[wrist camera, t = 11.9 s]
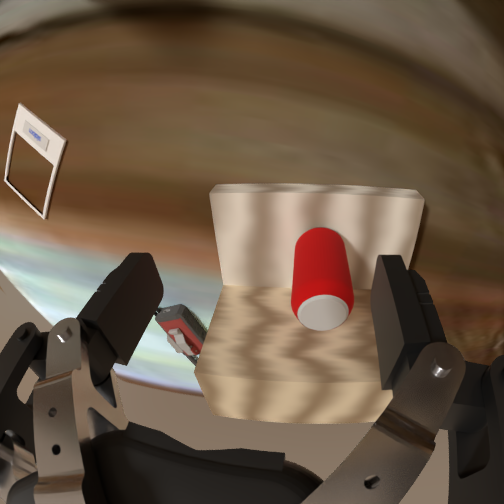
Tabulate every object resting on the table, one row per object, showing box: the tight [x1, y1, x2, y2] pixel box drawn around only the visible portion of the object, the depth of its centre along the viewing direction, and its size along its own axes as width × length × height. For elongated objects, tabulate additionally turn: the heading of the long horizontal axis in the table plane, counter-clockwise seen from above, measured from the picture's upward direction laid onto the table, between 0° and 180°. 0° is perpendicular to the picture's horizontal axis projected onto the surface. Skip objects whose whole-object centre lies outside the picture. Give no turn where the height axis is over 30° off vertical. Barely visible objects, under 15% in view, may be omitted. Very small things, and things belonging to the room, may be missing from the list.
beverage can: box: [291, 227, 354, 331], centre depth 30 cm, size 6×6×12 cm
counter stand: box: [194, 184, 425, 424], centre depth 33 cm, size 26×26×18 cm
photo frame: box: [4, 103, 67, 219], centre depth 37 cm, size 15×1×18 cm
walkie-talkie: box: [154, 304, 207, 366], centre depth 53 cm, size 9×4×20 cm
